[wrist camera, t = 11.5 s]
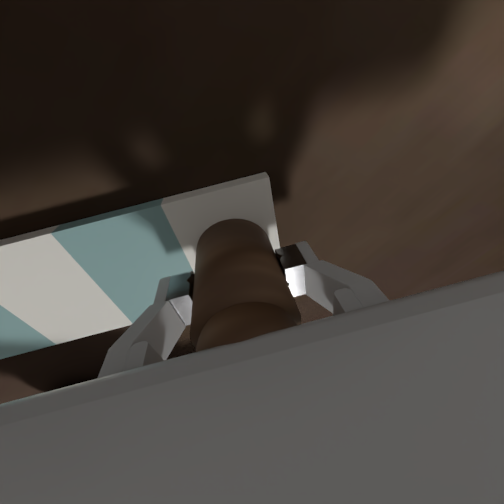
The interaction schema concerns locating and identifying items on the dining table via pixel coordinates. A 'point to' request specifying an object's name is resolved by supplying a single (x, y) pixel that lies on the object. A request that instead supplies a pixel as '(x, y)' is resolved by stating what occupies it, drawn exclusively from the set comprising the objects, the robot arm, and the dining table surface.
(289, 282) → the robot arm
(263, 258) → the brown rounded cylinder
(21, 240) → the board
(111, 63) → the dining table surface
